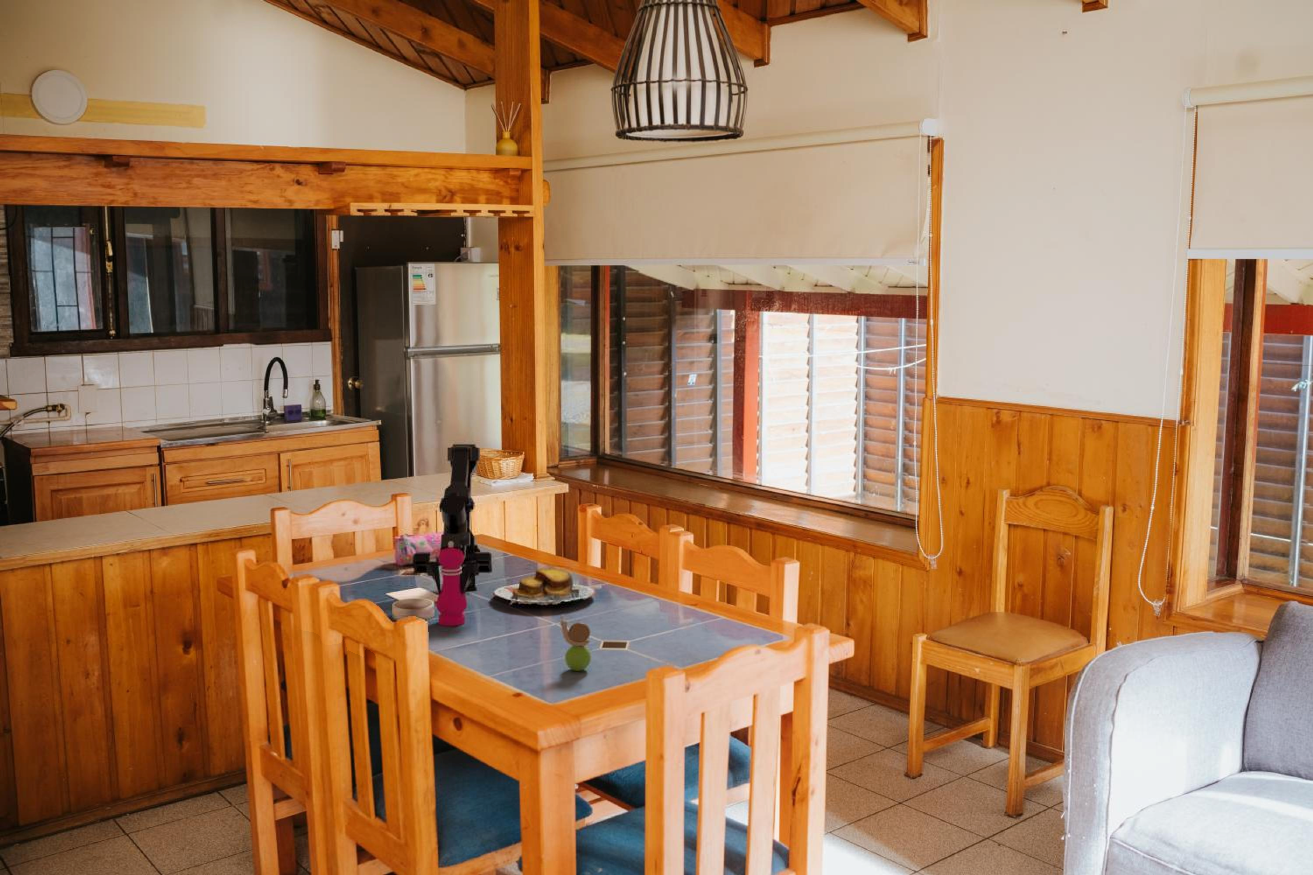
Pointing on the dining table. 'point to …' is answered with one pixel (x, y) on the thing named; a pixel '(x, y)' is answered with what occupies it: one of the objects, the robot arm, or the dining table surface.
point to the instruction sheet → (414, 594)
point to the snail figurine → (576, 645)
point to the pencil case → (416, 546)
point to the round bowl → (413, 608)
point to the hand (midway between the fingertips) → (450, 593)
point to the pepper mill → (451, 587)
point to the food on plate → (545, 589)
